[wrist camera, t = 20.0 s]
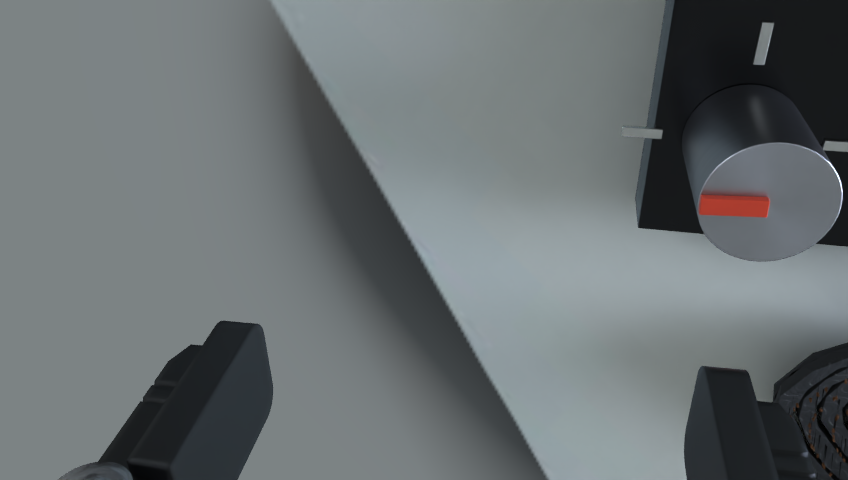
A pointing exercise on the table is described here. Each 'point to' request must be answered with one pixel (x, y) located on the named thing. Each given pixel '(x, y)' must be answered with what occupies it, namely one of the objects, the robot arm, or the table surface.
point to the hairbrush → (820, 408)
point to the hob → (741, 65)
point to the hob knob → (758, 175)
